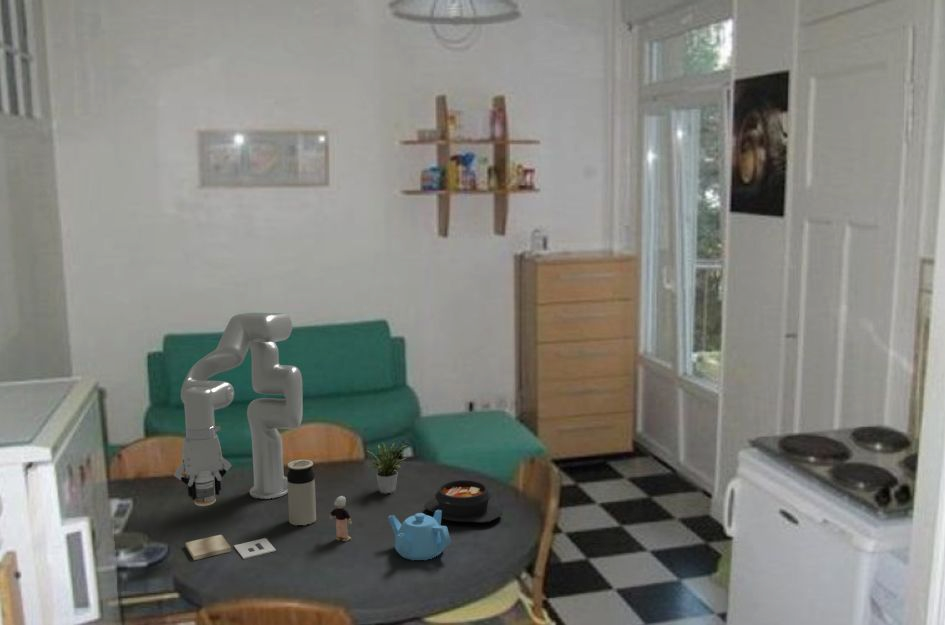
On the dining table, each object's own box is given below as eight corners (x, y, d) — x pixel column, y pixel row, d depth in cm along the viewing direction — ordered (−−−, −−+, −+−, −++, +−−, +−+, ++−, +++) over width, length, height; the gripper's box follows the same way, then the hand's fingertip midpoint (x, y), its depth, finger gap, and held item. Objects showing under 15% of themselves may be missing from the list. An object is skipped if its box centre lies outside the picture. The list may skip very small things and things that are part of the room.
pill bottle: (197, 499, 233) (194, 465, 231) (218, 498, 233) (216, 464, 232) (192, 507, 227) (189, 472, 225) (213, 506, 228) (211, 471, 226)
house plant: (421, 488, 276) (420, 441, 273) (395, 502, 264) (394, 453, 261) (387, 480, 283) (386, 434, 280) (361, 493, 272) (359, 445, 269)
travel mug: (321, 518, 253) (319, 461, 250) (305, 528, 245) (303, 469, 243) (300, 514, 256) (297, 457, 253) (283, 523, 249) (281, 466, 246)
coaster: (221, 538, 239) (221, 534, 239) (231, 551, 231) (231, 547, 231) (185, 546, 234) (185, 542, 234) (194, 560, 226) (194, 556, 225)
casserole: (412, 516, 253) (411, 490, 252) (446, 496, 269) (446, 471, 267) (481, 535, 240) (481, 507, 239) (514, 513, 255) (514, 486, 254)
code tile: (265, 539, 238) (265, 537, 238) (275, 551, 231) (275, 549, 231) (234, 546, 234) (234, 545, 234) (243, 559, 226) (243, 557, 226)
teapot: (396, 567, 221) (395, 528, 219) (388, 543, 235) (387, 506, 233) (452, 560, 224) (452, 522, 222) (441, 537, 239) (441, 501, 237)
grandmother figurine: (357, 537, 239) (355, 495, 237) (350, 543, 235) (349, 500, 233) (333, 534, 241) (331, 492, 239) (326, 539, 238) (324, 497, 236)
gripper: (228, 424, 234) (232, 485, 237) (164, 434, 226) (169, 498, 229) (236, 430, 228) (239, 493, 231) (170, 441, 219) (175, 507, 222)
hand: (204, 495), depth 230 cm, fingers closed on pill bottle, 5 cm apart
